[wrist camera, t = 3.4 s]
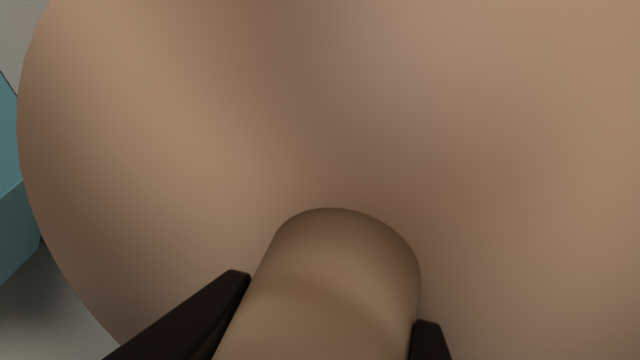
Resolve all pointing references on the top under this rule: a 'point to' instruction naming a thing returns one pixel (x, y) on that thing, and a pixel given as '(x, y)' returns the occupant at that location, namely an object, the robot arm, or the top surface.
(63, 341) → the top surface
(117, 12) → the lid
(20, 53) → the top surface
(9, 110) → the bowl
